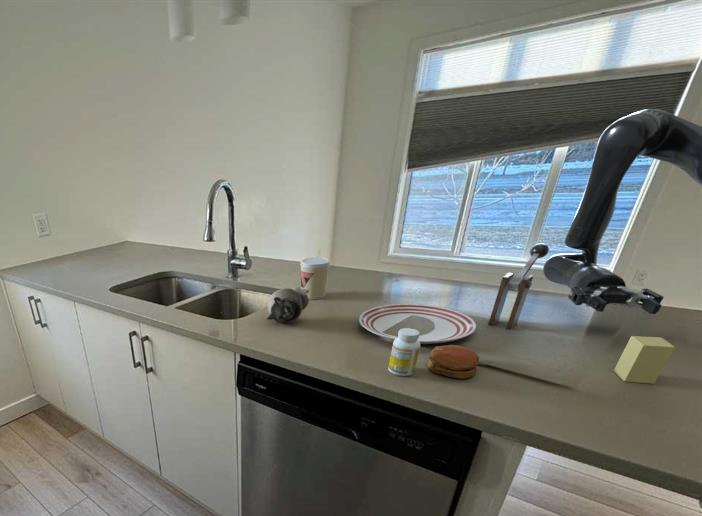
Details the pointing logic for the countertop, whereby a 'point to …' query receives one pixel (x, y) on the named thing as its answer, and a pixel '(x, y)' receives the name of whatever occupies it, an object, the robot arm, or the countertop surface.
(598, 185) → the robot arm
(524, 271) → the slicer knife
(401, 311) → the dinner plate
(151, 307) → the countertop surface
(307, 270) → the coffee cup
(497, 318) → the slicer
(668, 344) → the butter
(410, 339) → the supplement bottle
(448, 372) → the burger
